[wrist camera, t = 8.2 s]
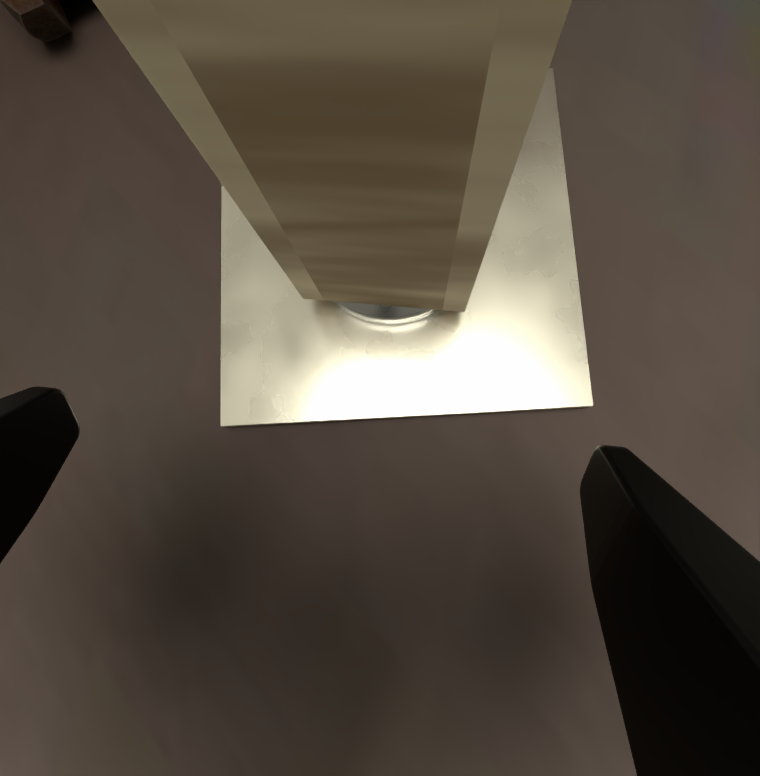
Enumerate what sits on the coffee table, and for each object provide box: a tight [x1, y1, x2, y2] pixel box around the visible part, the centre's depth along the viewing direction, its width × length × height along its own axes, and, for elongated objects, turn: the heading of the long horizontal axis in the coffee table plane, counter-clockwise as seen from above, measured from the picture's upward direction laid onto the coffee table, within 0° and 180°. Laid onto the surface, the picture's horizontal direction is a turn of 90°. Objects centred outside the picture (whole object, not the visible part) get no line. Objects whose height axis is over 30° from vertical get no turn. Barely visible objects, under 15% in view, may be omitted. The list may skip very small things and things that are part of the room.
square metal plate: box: [221, 68, 593, 427], centre depth 16 cm, size 14×14×6 cm
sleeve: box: [92, 0, 572, 312], centre depth 11 cm, size 6×6×12 cm
